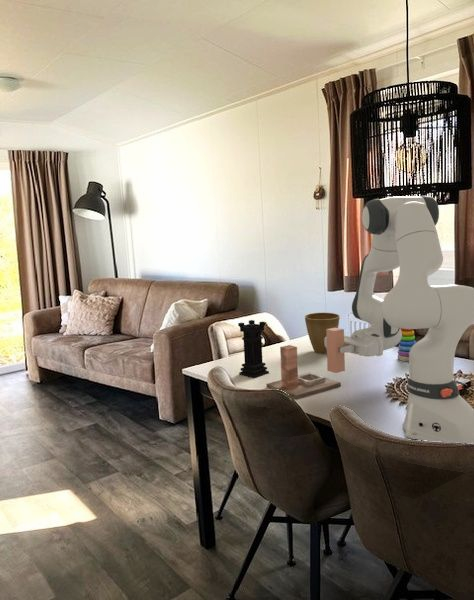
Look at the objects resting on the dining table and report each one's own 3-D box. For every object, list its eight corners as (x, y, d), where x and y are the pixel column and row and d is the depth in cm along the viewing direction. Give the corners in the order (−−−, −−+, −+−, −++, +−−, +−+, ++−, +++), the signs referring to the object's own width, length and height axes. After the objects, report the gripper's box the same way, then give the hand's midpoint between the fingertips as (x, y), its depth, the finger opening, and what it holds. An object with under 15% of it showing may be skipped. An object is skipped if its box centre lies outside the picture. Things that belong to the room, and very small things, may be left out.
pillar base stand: (340, 385, 180) (339, 342, 178) (296, 398, 170) (294, 353, 167) (309, 375, 194) (308, 335, 191) (266, 387, 183) (264, 344, 181)
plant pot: (299, 350, 231) (298, 314, 229) (329, 346, 236) (328, 311, 233) (315, 358, 217) (314, 320, 215) (346, 353, 222) (346, 316, 220)
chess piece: (239, 374, 199) (236, 323, 196) (253, 369, 205) (251, 319, 202) (254, 378, 194) (252, 325, 191) (268, 373, 199) (266, 321, 196)
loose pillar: (344, 370, 172) (343, 329, 170) (335, 373, 170) (334, 331, 168) (336, 368, 175) (335, 327, 173) (327, 370, 173) (326, 329, 171)
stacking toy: (415, 356, 212) (415, 311, 209) (420, 361, 204) (420, 314, 202) (395, 356, 213) (395, 311, 210) (399, 362, 205) (399, 315, 202)
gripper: (341, 329, 187) (311, 335, 179) (386, 337, 170) (356, 344, 162) (341, 346, 187) (312, 353, 180) (386, 356, 170) (356, 364, 163)
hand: (333, 348), depth 171 cm, fingers closed on loose pillar, 4 cm apart
